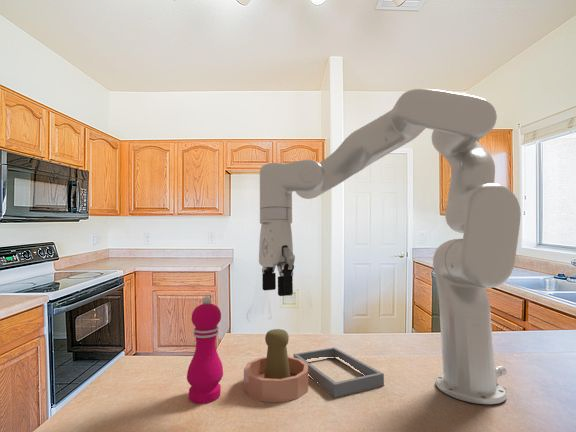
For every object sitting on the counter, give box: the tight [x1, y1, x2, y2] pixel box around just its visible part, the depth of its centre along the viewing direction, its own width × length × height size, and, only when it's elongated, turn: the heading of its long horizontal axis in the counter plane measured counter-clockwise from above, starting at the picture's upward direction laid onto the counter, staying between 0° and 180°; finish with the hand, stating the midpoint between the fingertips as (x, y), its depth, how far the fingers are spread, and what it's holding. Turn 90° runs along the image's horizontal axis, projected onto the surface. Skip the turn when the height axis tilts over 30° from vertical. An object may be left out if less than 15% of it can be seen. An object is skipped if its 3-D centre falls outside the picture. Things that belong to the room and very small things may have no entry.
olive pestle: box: [264, 328, 290, 379], centre depth 66 cm, size 6×6×11 cm
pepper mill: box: [186, 295, 224, 405], centre depth 62 cm, size 7×7×20 cm
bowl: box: [243, 355, 309, 403], centre depth 66 cm, size 14×14×4 cm
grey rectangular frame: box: [292, 346, 385, 398], centre depth 72 cm, size 13×20×2 cm, turn 24°
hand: (276, 292), depth 68 cm, fingers open, 9 cm apart
